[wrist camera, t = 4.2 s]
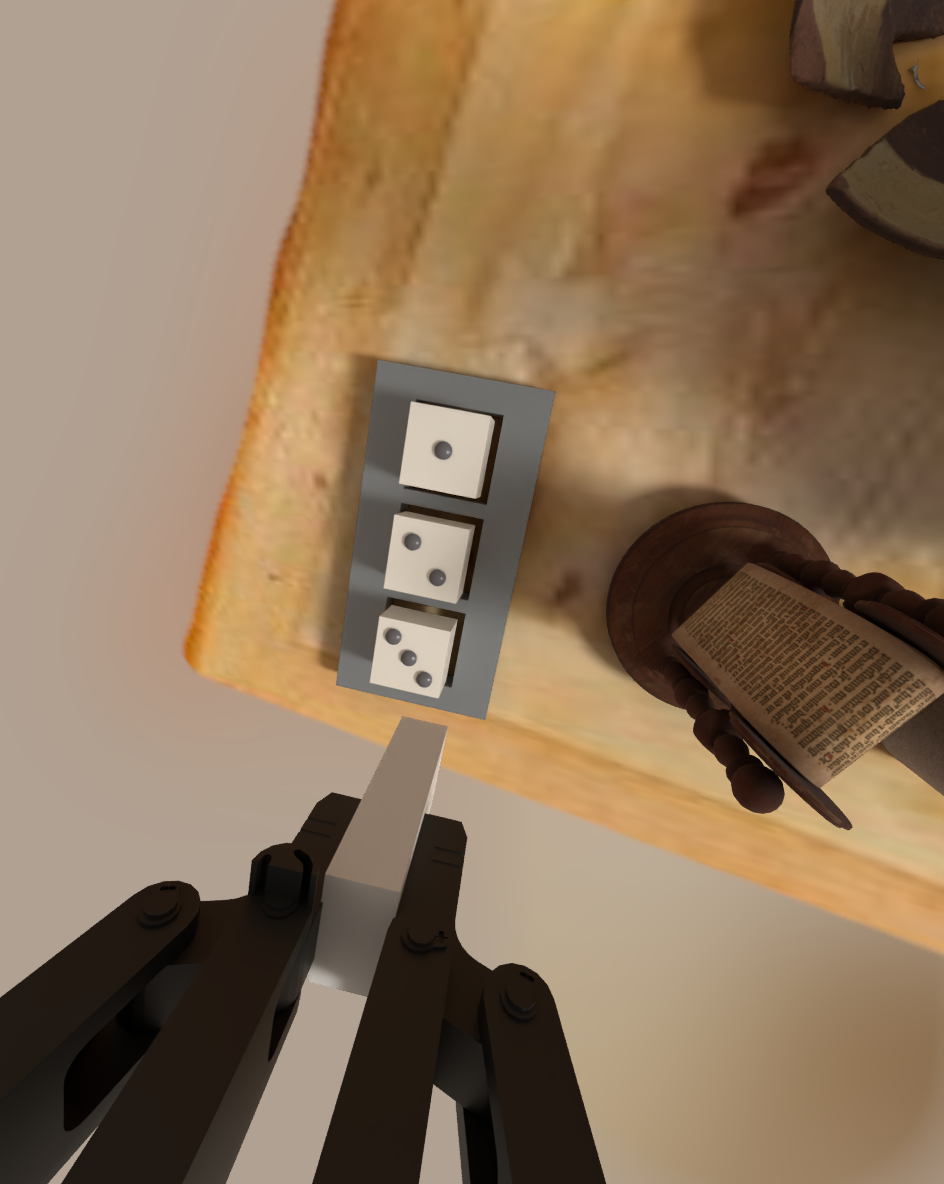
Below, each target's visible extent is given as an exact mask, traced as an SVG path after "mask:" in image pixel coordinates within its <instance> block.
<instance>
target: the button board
mask: <svg viewBox="0 0 944 1184" xmlns="http://www.w3.org/2000/svg"><path fill="white" fill-rule="evenodd" d="M554 396H555V391H550V390H544V389H539V388H533V387H528V386H522V385H516V384H511V383H505V382H500V381H494V380H489V379H483V378H477V377H472V376H466V375H461V374H455V373H450V372H444V371H438V370H433V369H427V368H422V367H416V366H411V365H405V364H400V363H394V362H388V361H383V360H378V362H377V370H376V378H375V385H374V393H373V401H372V409H371V417H370V424H369V432H368V440H367V448H366V455H365V463H364V471H363V479H362V487H361V494H360V502H359V510H358V518H357V525H356V533H355V541H354V549H353V557H352V564H351V572H350V580H349V588H348V595H347V603H346V611H345V619H344V627H343V634H342V642H341V650H340V658H339V665H338V673H337V681H336V685H337V686H342V687H346V688H350V689H355V690H359V691H363V692H367V693H372V694H376V695H380V696H384V697H389V698H393V699H397V700H402V701H406V702H410V703H414V704H419V705H423V706H427V707H432V708H436V709H440V710H444V711H449V712H453V713H457V714H461V715H466V716H470V717H474V718H479V719H483V720H485V718H486V713H487V709H488V704H489V699H490V695H491V690H492V685H493V681H494V676H495V671H496V667H497V662H498V657H499V653H500V648H501V643H502V639H503V634H504V629H505V625H506V620H507V615H508V611H509V606H510V601H511V597H512V592H513V587H514V583H515V578H516V573H517V569H518V564H519V559H520V555H521V550H522V545H523V541H524V536H525V531H526V527H527V522H528V517H529V513H530V508H531V503H532V499H533V494H534V489H535V485H536V480H537V475H538V471H539V466H540V461H541V457H542V452H543V447H544V443H545V438H546V433H547V429H548V424H549V419H550V415H551V410H552V405H553V401H554ZM411 401H412V402H417V403H422V404H423V403H425V404H431V405H436V406H441V407H447V408H452V409H458V410H463V411H468V412H474V413H479V414H485V415H490V416H495V417H501V418H503V423H502V428H501V433H500V439H499V444H498V449H497V454H496V459H495V465H494V470H493V475H492V480H491V486H490V491H489V496H488V501H487V503H484V502H479V501H474V500H469V499H464V498H459V497H454V496H449V495H444V494H439V493H434V492H429V491H424V490H419V489H414V488H410V486H409V485H404V484H399V480H400V473H401V466H402V460H403V453H404V446H405V439H406V432H407V426H408V419H409V412H410V405H411ZM408 504H410V505H415V506H420V507H425V508H430V509H435V510H440V511H445V512H450V513H455V514H460V515H465V516H470V517H475V518H480V519H484V522H483V527H482V532H481V538H480V543H479V548H478V553H477V558H476V564H475V569H474V574H473V579H472V584H471V590H470V594H468V593H462V595H461V597H460V598H459V600H458V601H457V603H456V604H454V603H450V602H445V601H441V600H436V599H431V598H427V597H422V596H417V595H413V594H408V593H404V592H399V591H394V590H390V589H385V588H384V582H385V575H386V569H387V562H388V555H389V548H390V541H391V535H392V528H393V521H394V515H395V514H398V513H402V512H405V511H407V505H408ZM393 598H396V599H401V600H405V601H410V602H414V603H419V604H424V605H428V606H433V607H437V608H442V609H446V610H451V611H456V612H460V613H465V614H466V616H465V621H464V626H463V631H462V636H461V642H460V647H459V652H458V657H457V662H456V668H455V673H454V677H452V676H447V678H446V682H445V685H444V687H443V689H442V691H441V694H440V696H439V698H434V697H430V696H425V695H421V694H417V693H412V692H408V691H404V690H399V689H395V688H391V687H386V686H382V685H378V684H374V683H370V678H371V671H372V664H373V657H374V650H375V643H376V637H377V630H378V623H379V616H380V615H381V614H382V613H384V612H385V611H386V610H387V609H388V608H389V607H390V606H391V605H392V604H393Z"/></svg>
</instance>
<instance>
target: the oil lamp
mask: <svg viewBox="0 0 944 1184" xmlns="http://www.w3.org/2000/svg"><path fill="white" fill-rule="evenodd" d="M942 35H944V0H796V1H795V7H794V12H793V18H792V23H791V30H790V48H789V49H790V69H791V76H792V77H793V79H794V81H795V82H797V83H798V84H801V85H802V86H804V87H806V88H807V90H809V89H810V90H812V91H813V92H823V93H824V94H827V95H829V96H831V97H832V98H834V99H842V100H844V101H845V102H846V103H851V102H853V103H861V104H862V105H865V106H866V107H867V108H868V109H870V108H877V107H881V108H883V109H892V108H895V109H898V108H900V107H901V104H902V101H903V98H904V95H905V92H904V85H903V84H902V82H901V76H900V74H899V72H898V69H897V66H896V63H895V59H894V55H893V51H892V42H893V40H894V39H899V40H901V41H904V42H907V41H911V40H915V39H925V38H933V39H934V38H936V37H938V36H942ZM918 61H919V60H918ZM917 65H918V62H917V63H916V65H915V66H914V67H913V68H911V69H910V70H908V71H913V73H914V79H915V82H916V83H917V85H918V86H919V87H920V88H924V89H926V88H925V87H924V86H923V85H922V84H921V83H920V82H919V79H918V76H917ZM826 193H827V195H829V196H830V198H831V199H832V201H833V202H835V203H836V204H837V206H839V207H840V208H841V209H842V210H843V212H846V213H847V214H848V215H849V216H850V217H851V218H853V219H854V220H855V221H856V222H857V223H859V224H860V225H862V226H863V227H865V228H866V229H868V230H870V231H872V232H874V233H875V234H877V235H879V236H881V237H883V238H885V239H887V240H889V241H891V242H892V243H895V244H897V245H900V246H903V247H905V248H906V249H909V250H911V251H913V252H916V253H919V254H922V255H925V256H928V257H932V258H937V259H943V260H944V100H939V101H938V102H936V103H934V104H932V105H930V106H928V107H926V108H924V109H922V110H920V111H918V112H916V113H913V114H912V115H909V116H908V117H906V118H905V119H904V120H903V121H902V122H901V123H899V124H898V125H896V126H895V127H893V128H892V129H891V130H890V131H889V132H888V133H886V134H885V135H884V136H883V137H882V138H881V139H880V140H878V141H877V142H876V143H875V144H873V145H872V146H870V147H869V148H868V149H867V150H866V151H865V152H864V153H863V154H862V156H861V157H860V158H859V159H856V160H855V161H854V162H852V163H851V164H850V165H849V166H848V167H847V168H846V169H845V171H843V172H841V173H840V174H838V176H836V178H835V179H834V180H833V181H832V182H831V183H830V184H829V185H828V187H827V188H826Z"/></svg>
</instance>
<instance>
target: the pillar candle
mask: <svg viewBox="0 0 944 1184" xmlns="http://www.w3.org/2000/svg"><path fill="white" fill-rule="evenodd" d="M881 744H882V745H883V746H884V747H885V749H886V750H887V751H888V752H889V753H890V754H891V755H893V756H894V757H895V758H896V759H897V760H899V761H900V762H901V763H903V764H904V765H905V766H906V767H908V768H909V769H910V770H912V771H913V772H914V773H915V774H917V775H918V776H919V777H920V778H922V779H923V780H924V781H925V782H927V783H928V784H929V785H930V786H932V787H933V788H934V789H935V790H937V791H938V792H939V793H941V794H942V795H943V796H944V693H943V694H942V695H940V696H939V697H938V698H936V699H935V700H934V701H933V702H931V703H930V704H929V705H927V706H926V707H925V708H923V709H922V710H921V711H920V712H918V713H917V714H916V715H914V716H913V717H912V718H910V719H909V720H908V721H907V722H905V723H904V724H903V725H901V726H900V727H899V728H897V729H896V730H895V731H894V732H892V733H891V734H890V735H888V736H887V737H886V738H884V739H883V740H882V741H881Z"/></svg>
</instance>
